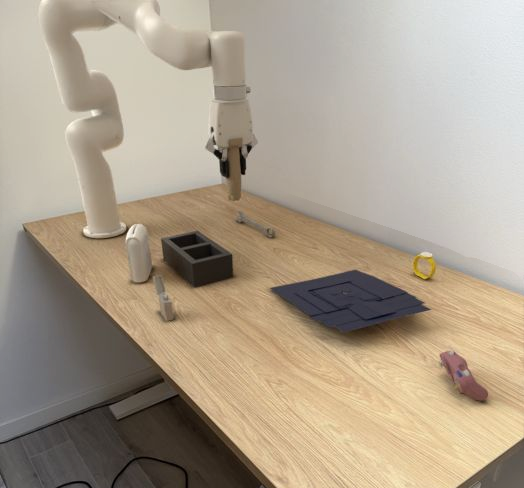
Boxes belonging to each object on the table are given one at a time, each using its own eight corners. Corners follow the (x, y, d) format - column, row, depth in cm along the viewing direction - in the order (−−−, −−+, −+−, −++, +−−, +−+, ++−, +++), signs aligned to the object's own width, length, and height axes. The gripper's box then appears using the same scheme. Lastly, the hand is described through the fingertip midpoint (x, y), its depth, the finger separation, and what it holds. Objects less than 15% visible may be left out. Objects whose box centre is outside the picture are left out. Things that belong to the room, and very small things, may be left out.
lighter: (174, 319, 109) (169, 285, 105) (166, 321, 108) (161, 286, 104) (164, 305, 114) (159, 272, 110) (156, 306, 114) (152, 273, 110)
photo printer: (137, 266, 133) (129, 219, 126) (153, 266, 133) (147, 219, 126) (130, 283, 124) (121, 234, 117) (147, 283, 124) (140, 234, 117)
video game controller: (442, 376, 93) (431, 348, 89) (466, 365, 92) (456, 337, 88) (465, 411, 85) (453, 382, 81) (491, 400, 84) (481, 370, 80)
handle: (238, 195, 134) (236, 134, 126) (247, 201, 129) (246, 138, 121) (221, 197, 133) (218, 135, 125) (229, 204, 128) (226, 140, 120)
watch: (409, 274, 126) (412, 251, 123) (416, 271, 127) (420, 248, 124) (427, 282, 122) (431, 259, 119) (435, 279, 123) (440, 256, 120)
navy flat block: (335, 348, 96) (335, 330, 94) (269, 299, 121) (268, 284, 119) (438, 320, 104) (439, 303, 103) (356, 279, 129) (356, 265, 127)
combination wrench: (275, 227, 147) (238, 207, 160) (271, 227, 146) (235, 208, 160) (275, 239, 149) (238, 219, 162) (271, 240, 148) (235, 220, 162)
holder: (163, 259, 136) (160, 238, 133) (199, 251, 141) (197, 230, 137) (194, 287, 122) (192, 263, 119) (233, 276, 126) (232, 254, 123)
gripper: (253, 89, 124) (254, 167, 134) (189, 95, 117) (196, 176, 127) (269, 92, 119) (269, 173, 129) (203, 98, 112) (209, 183, 122)
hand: (233, 174), depth 128 cm, fingers closed on handle, 3 cm apart
